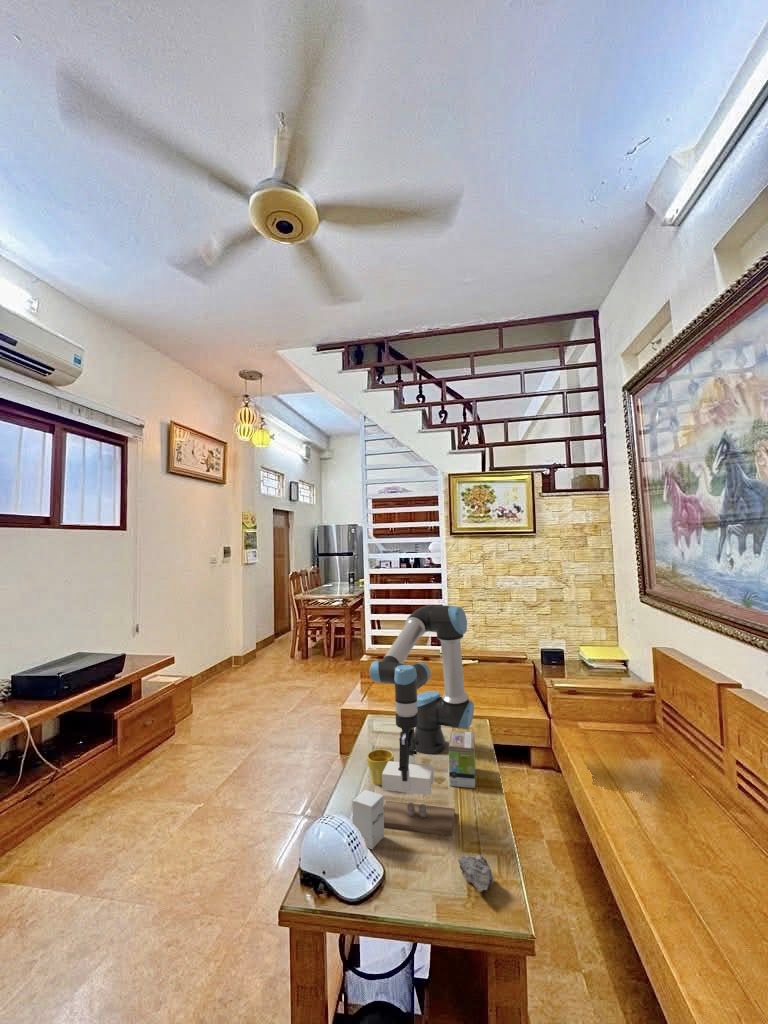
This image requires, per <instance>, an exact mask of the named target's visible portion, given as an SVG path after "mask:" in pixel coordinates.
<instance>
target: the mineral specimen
mask: <svg viewBox="0 0 768 1024" xmlns="http://www.w3.org/2000/svg"><path fill="white" fill-rule="evenodd" d="M457 861H458V864H459V869H460V870H461V875H462V877H463V878H464V879H465V880H466V883H467V884H469V883H471V884H472V885H473V887H474V888H475V889H476V890H477V892H478V893H482V892H483V891H488V889H489V888H490V886H491V885H494V884H495V877H494V875H493V873H492V868H491V866H490V865H489V863H488V861H487V860H486V859H485V857H484V856H483V855H482V854H477V855H472V856H470V855H462V856H461V858H458V859H457Z"/></svg>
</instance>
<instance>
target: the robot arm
mask: <svg viewBox="0 0 768 1024" xmlns="http://www.w3.org/2000/svg"><path fill="white" fill-rule="evenodd" d="M467 619H468V618H467V615H466V613H465V610H464V609H463V608H462V607H461V606H458V605H457V606H456V605H437V604H435V605H433V604H432V605H431V604H428V605H424V606H421V607H418V609H415V611H413V612H412V613H411V614H410V615H409V616H408V617H407V618H406V620H405V621H404V627H403V629H402V630H401V632H400V633H399V634H398V635H397V637H396V639H395V641H394V642H393V643H392V645H391V646H390V648H389V650H388V651H387V652H386V654H385V655H384V657H383V658H382V659H381V660H374V661H373V662H372V663H370V664H371V665H370V667H369V675H370V677H369V678H370V680H372V681H373V682H376V683H380V684H389V685H394V694H395V696H394V697H395V699H394V700H395V701H394V703H393V705H394V706H395V713H396V714H395V725H396V727H397V728H399V729H401V731H400V733H399V735H400V736H399V739H398V741H399V761H398V762H399V768H398V770H399V771H401V790H405V791H410V773H409V763H414V764H416V755H417V754H418V752H419V753H422V754H437V753H440V752H442V751H445V749H446V747H447V745H446V739H445V736H444V732H443V730H442V726H444V727H449V728H456V729H460V730H461V729H463V730H468V729H469V728H470V727H471V725H472V723H473V718H474V713H475V712H474V711H475V705H474V701H472V700H470V698H469V694H468V693H467V692H465V691H466V690H465V682H464V681H465V680H464V669H463V658H462V657H463V656H462V645H461V640H462V639H463V638H464V634H466V633H467V630H468V620H467ZM427 632H431V633H436V639H438V640H439V641H440V648H441V649H440V650H441V657H442V658H441V659H442V661H441V662H442V670H443V671H442V672H443V681H444V693H443V694H442V696H441V694H440V692H438V691H435V690H432V691H431V690H429V691H423V692H420V693H418V690H419V689H420V688H421V687H423V686H424V685H427V682H428V681H429V680H430V679H431V669H430V667H429V666H428V664H426V663H424V662H416V663H414V664H411V663H409V664H408V663H405V662H406V660H407V658H408V656H409V655H410V653H411V652H412V650H413V648H414V646H415V644H416V643H417V642H418V640H419V639H420V637H422V636H424V634H425V633H427Z"/></svg>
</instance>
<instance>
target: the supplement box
mask: <svg viewBox="0 0 768 1024" xmlns="http://www.w3.org/2000/svg"><path fill="white" fill-rule="evenodd" d="M351 801H352V825H353V824H354V825H355V826H356V827H357V828H358V829H359V831H360V832H361V834H362V835H363V837H364V839H365V841H366V843H367V844H368V846H369V848H370V849H372V850H373V849H374V848H375V847H376V846H377V845H378V843H380V841H381V840H383V838H384V837H385V827H384V805H385V804H384V795H383V794H380V793H378V792H374V791H371V790H368V789H365V790H362V792H361V793H359V795H357V796H356V797H355V798H354V799H353V800H351ZM370 849H369V850H370Z"/></svg>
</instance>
